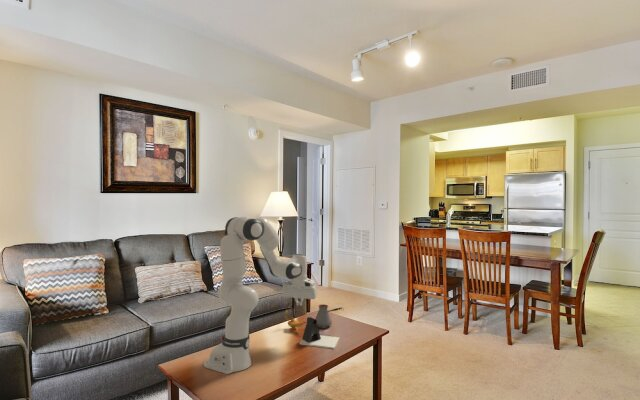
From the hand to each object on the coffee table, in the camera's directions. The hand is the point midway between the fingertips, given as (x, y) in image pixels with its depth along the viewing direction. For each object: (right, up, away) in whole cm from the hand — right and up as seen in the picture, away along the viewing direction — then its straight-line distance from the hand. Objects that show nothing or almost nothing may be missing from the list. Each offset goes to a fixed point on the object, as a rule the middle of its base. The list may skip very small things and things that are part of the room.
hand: (299, 305), depth 195 cm
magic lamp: (-3, -20, +13) cm, 24 cm away
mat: (+12, -20, -4) cm, 23 cm away
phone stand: (+7, -19, -2) cm, 20 cm away
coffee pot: (+18, -20, +18) cm, 32 cm away
